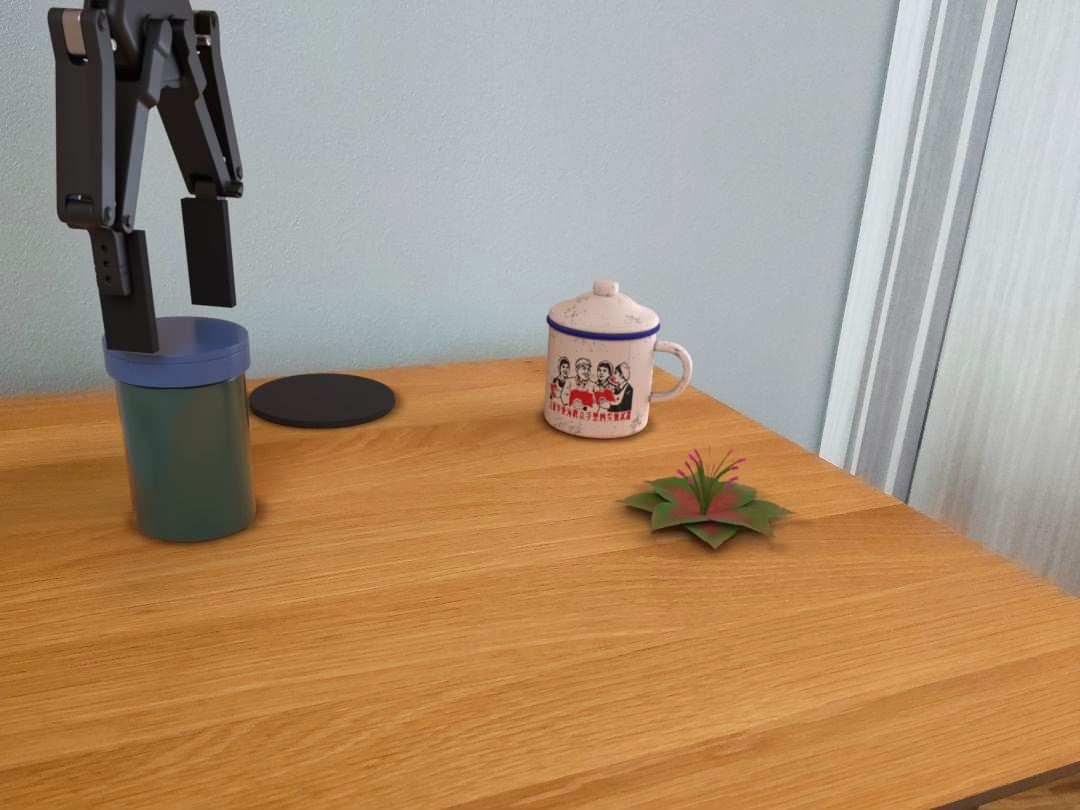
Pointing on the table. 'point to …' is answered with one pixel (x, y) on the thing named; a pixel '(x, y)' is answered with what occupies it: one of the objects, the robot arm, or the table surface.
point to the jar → (188, 459)
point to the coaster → (321, 400)
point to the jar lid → (184, 354)
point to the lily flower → (706, 504)
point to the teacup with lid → (604, 364)
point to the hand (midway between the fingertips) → (176, 325)
